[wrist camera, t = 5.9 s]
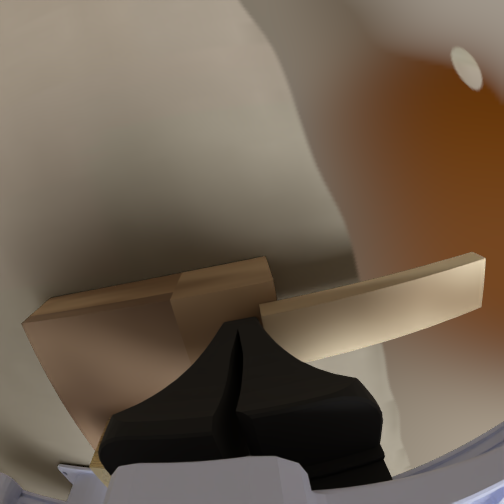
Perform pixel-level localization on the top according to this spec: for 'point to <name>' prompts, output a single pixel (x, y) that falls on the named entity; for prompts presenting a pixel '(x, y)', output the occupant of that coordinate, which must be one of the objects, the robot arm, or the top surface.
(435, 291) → the beige wooden plank
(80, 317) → the lid
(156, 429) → the robot arm
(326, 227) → the top surface
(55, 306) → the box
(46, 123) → the top surface
